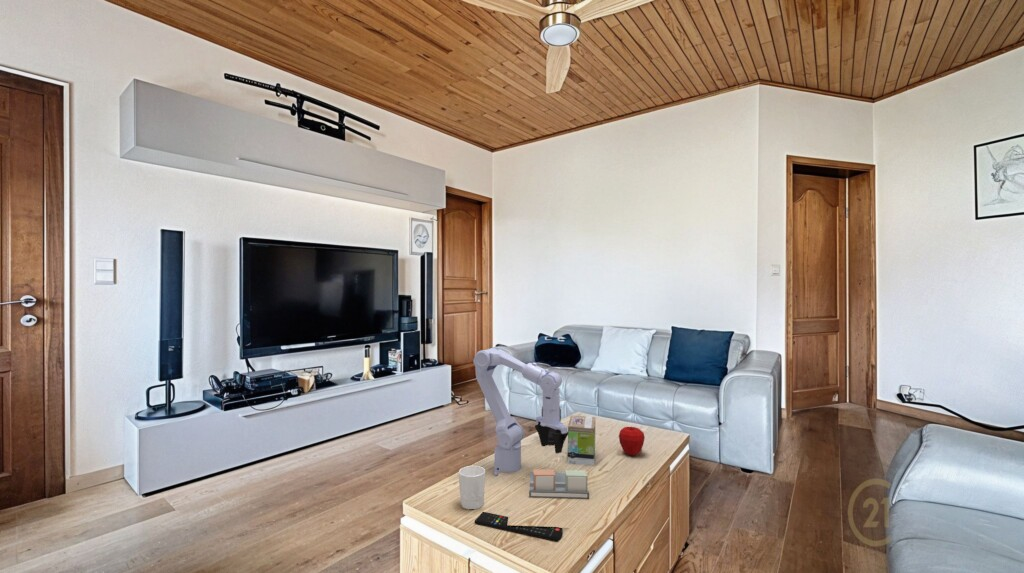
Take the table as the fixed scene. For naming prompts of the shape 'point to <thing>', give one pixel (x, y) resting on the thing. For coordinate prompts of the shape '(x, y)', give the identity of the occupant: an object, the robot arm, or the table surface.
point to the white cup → (472, 486)
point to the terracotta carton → (544, 479)
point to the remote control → (519, 527)
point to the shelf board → (557, 490)
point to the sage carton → (575, 480)
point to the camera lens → (550, 437)
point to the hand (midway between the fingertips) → (551, 449)
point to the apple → (631, 440)
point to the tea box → (581, 440)
